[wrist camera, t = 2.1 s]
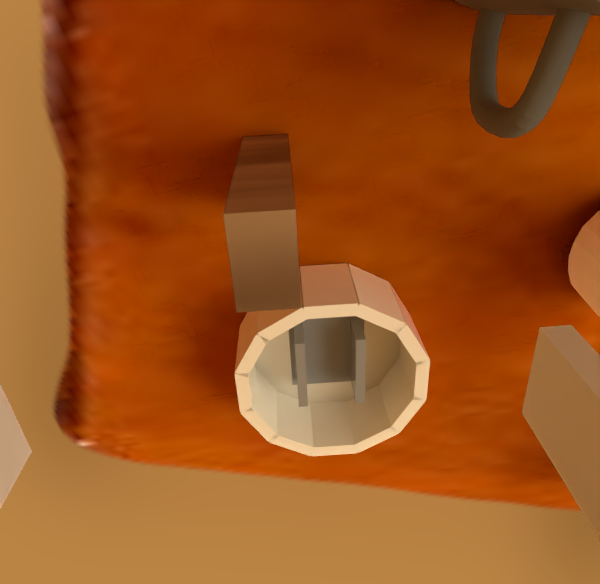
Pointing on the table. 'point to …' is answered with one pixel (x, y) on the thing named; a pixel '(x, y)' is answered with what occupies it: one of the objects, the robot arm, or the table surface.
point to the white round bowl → (332, 365)
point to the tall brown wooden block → (263, 227)
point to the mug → (547, 73)
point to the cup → (587, 263)
